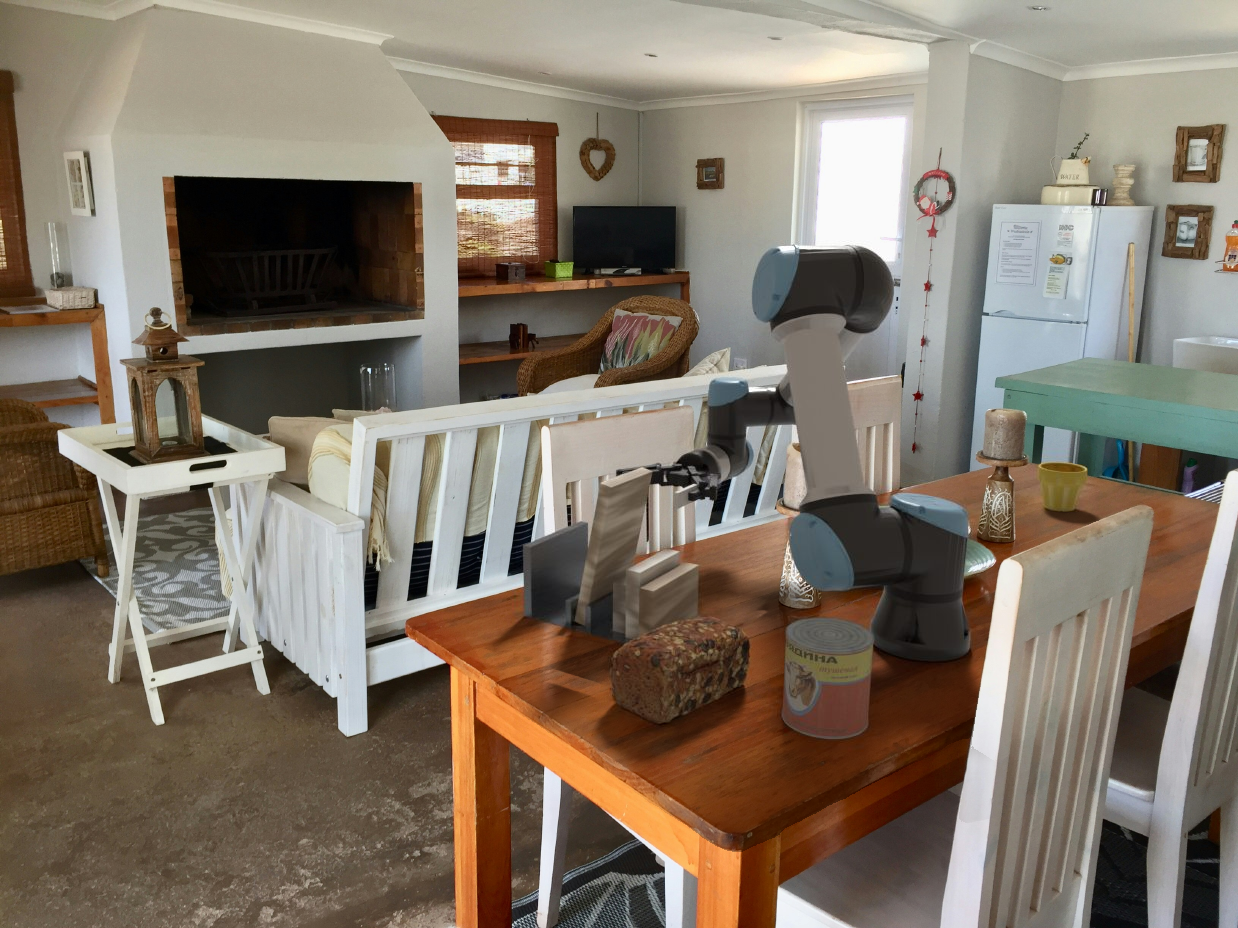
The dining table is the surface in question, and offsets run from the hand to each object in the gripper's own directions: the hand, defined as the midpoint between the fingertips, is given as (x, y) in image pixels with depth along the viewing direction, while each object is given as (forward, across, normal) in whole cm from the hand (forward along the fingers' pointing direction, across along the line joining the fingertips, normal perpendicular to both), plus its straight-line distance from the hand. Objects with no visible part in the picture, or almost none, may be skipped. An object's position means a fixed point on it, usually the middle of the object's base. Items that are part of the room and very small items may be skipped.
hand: (641, 494), depth 170 cm
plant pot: (-103, -49, -19) cm, 115 cm away
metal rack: (+12, -2, -19) cm, 22 cm away
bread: (+27, -23, -19) cm, 40 cm away
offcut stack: (+12, -10, -18) cm, 23 cm away
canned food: (+22, -43, -19) cm, 52 cm away
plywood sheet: (+12, 0, -17) cm, 21 cm away
